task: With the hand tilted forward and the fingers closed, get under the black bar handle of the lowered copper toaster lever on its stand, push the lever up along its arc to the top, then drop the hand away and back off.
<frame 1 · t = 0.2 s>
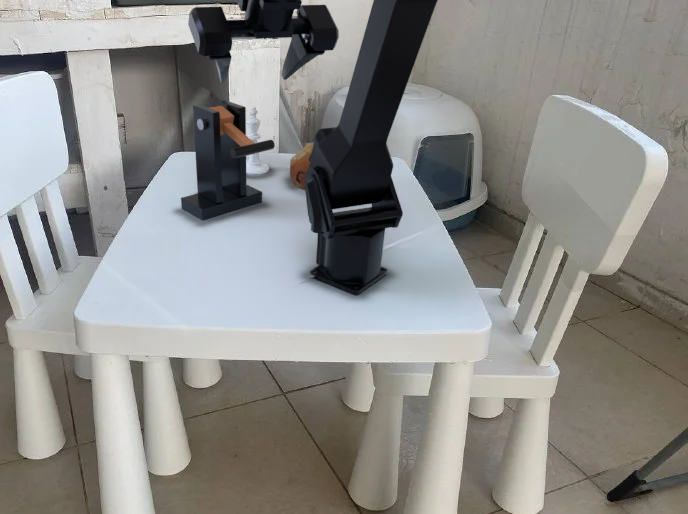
hand: (253, 79, 85), 15 cm above the table, tool tilted 35°, fingers open, 9 cm apart
stand: (222, 208, 84), on the table
toaster lever: (234, 132, 76), point 11 cm above the table, hinge at -16.0°
bread roll: (321, 185, 93), on the table
chess piece: (254, 172, 96), on the table
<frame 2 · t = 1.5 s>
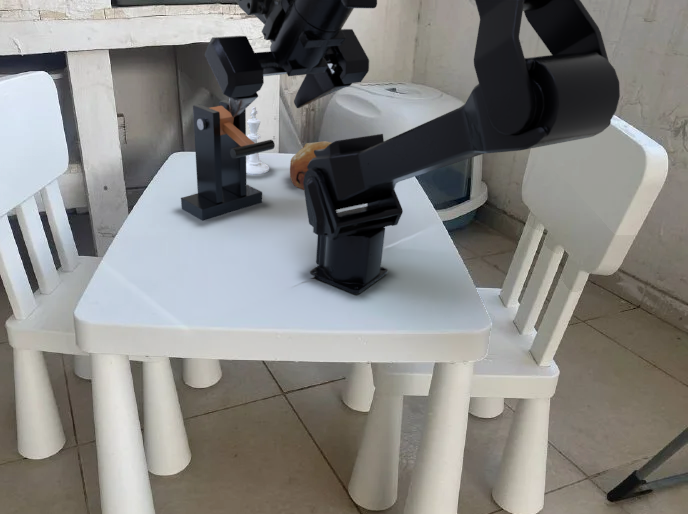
hand: (265, 109, 74), 14 cm above the table, tool tilted 40°, fingers open, 9 cm apart
nothing on the table moved.
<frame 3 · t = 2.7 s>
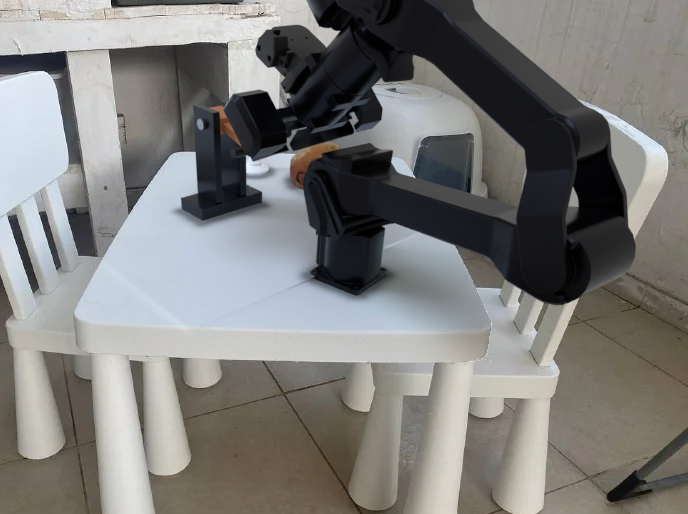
hand: (272, 152, 72), 11 cm above the table, tool tilted 45°, fingers open, 6 cm apart
nothing on the table moved.
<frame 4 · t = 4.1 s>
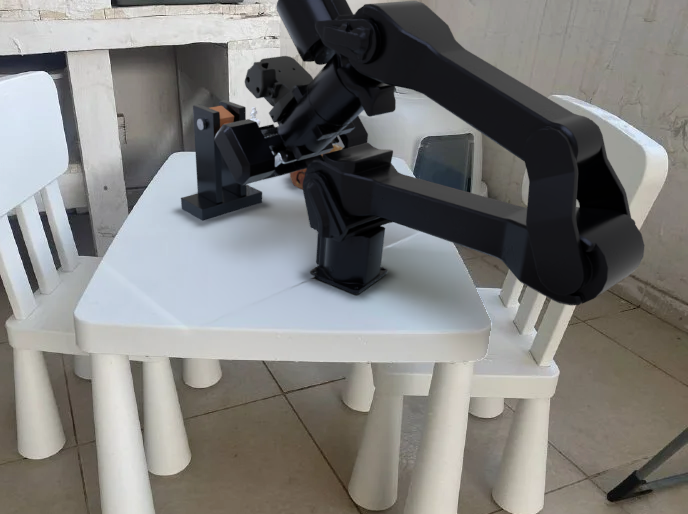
hand: (262, 175, 74), 7 cm above the table, tool tilted 45°, fingers closed
nothing on the table moved.
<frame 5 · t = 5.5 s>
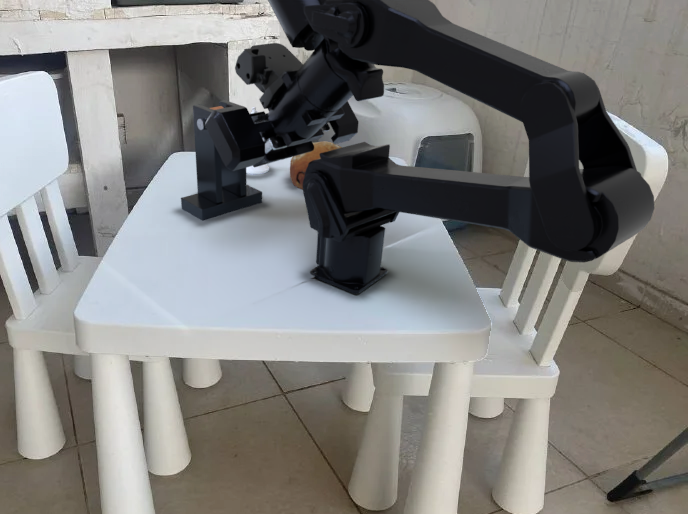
hand: (254, 163, 75), 8 cm above the table, tool tilted 45°, fingers closed, pressing on toaster lever
toaster lever: (234, 131, 76), point 11 cm above the table, hinge at -12.6°, touching gripper
everything else where it was.
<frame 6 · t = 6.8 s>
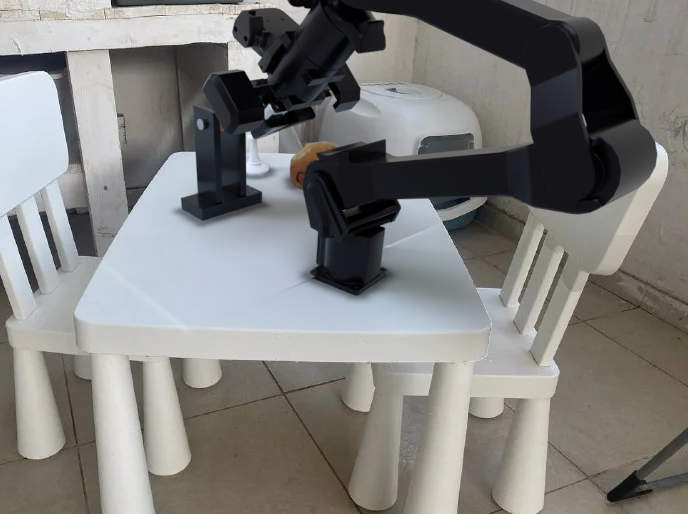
hand: (254, 135, 73), 12 cm above the table, tool tilted 45°, fingers closed, pressing on toaster lever
toaster lever: (233, 120, 75), point 13 cm above the table, hinge at 13.8°, touching gripper
everything else where it was.
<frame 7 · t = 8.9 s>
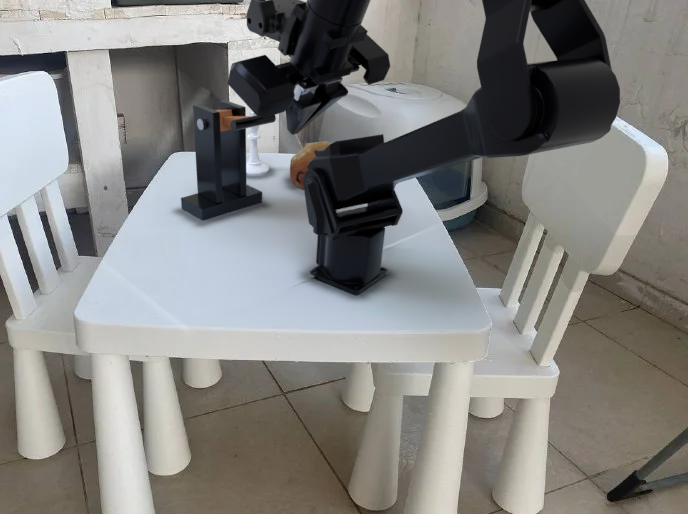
hand: (292, 131, 71), 13 cm above the table, tool tilted 25°, fingers closed
toaster lever: (234, 120, 75), point 13 cm above the table, hinge at 11.9°
everything else where it was.
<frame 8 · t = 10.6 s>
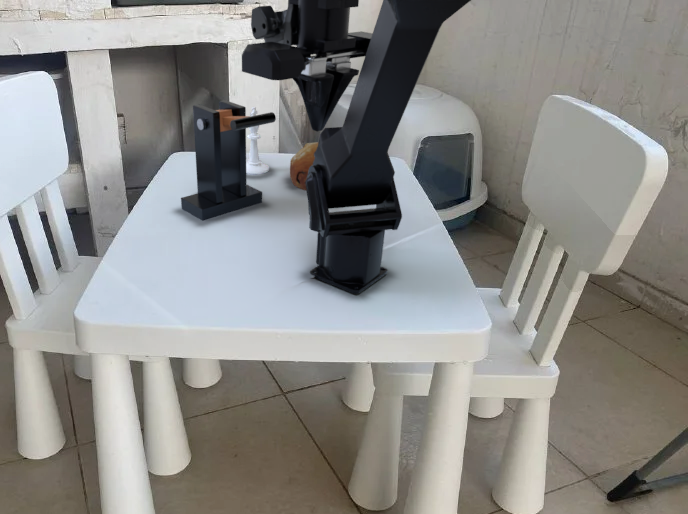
hand: (317, 130, 73), 12 cm above the table, tool pointing down, fingers closed
nothing on the table moved.
at the end: toaster lever at +12° (first picture: -16°); the gripper is holding nothing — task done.
